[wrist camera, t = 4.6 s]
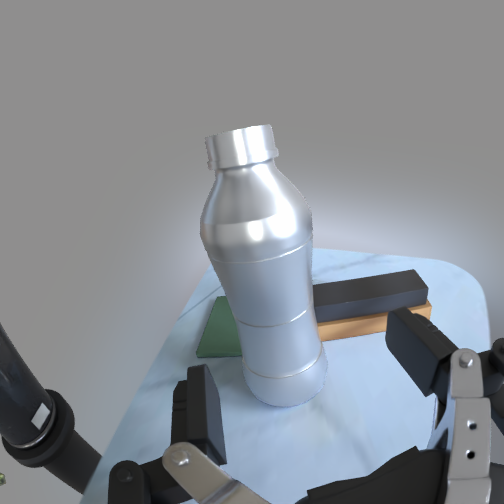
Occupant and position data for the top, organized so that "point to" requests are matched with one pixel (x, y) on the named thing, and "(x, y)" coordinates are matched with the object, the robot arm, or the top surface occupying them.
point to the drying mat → (220, 332)
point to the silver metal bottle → (264, 265)
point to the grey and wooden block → (367, 303)
